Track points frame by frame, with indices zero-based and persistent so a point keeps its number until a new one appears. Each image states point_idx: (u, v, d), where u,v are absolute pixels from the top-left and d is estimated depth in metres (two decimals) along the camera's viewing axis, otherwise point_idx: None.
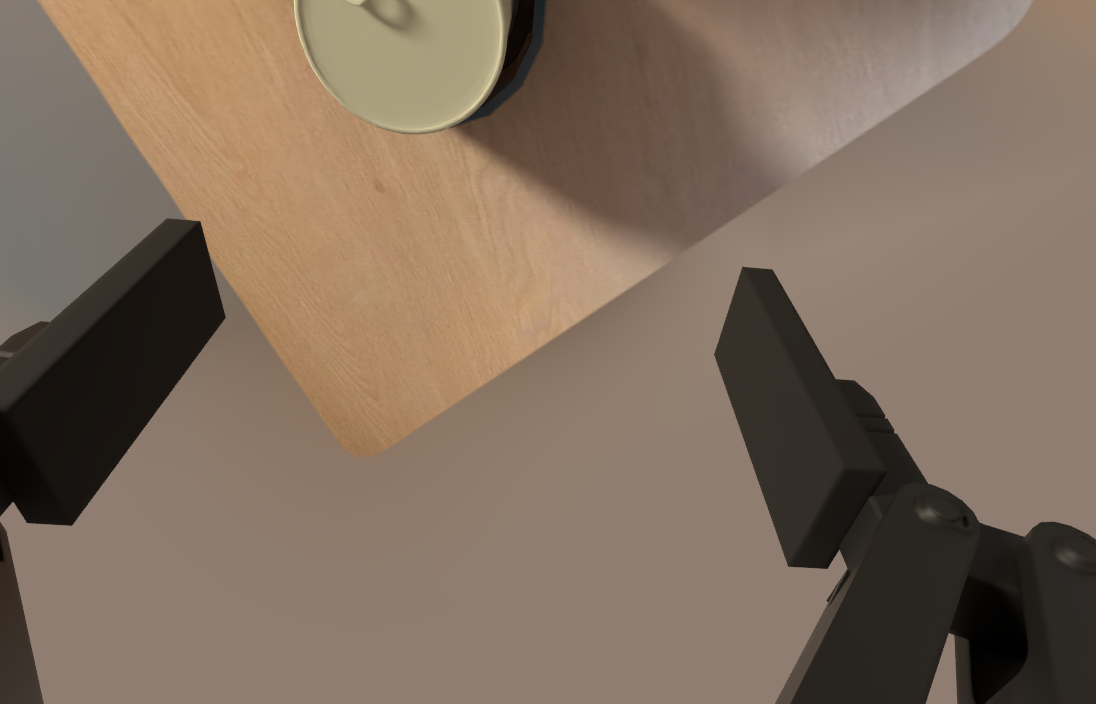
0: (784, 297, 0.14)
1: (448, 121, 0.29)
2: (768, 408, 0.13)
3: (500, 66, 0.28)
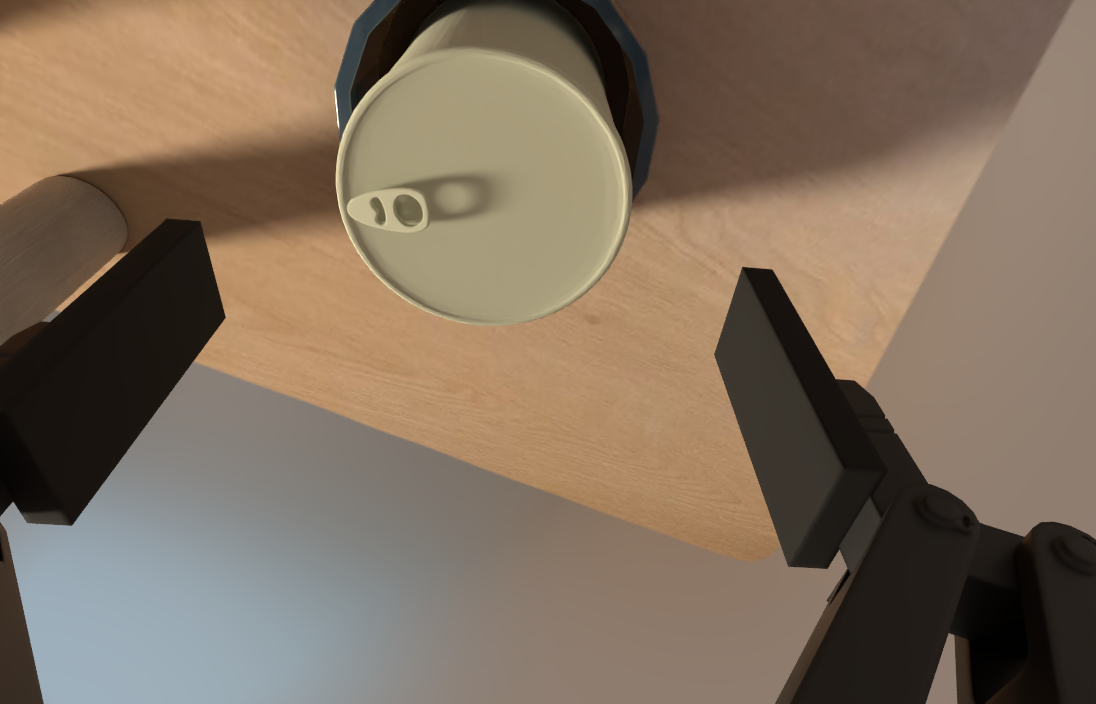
0: (784, 297, 0.14)
1: (609, 252, 0.20)
2: (768, 408, 0.13)
3: (619, 145, 0.18)
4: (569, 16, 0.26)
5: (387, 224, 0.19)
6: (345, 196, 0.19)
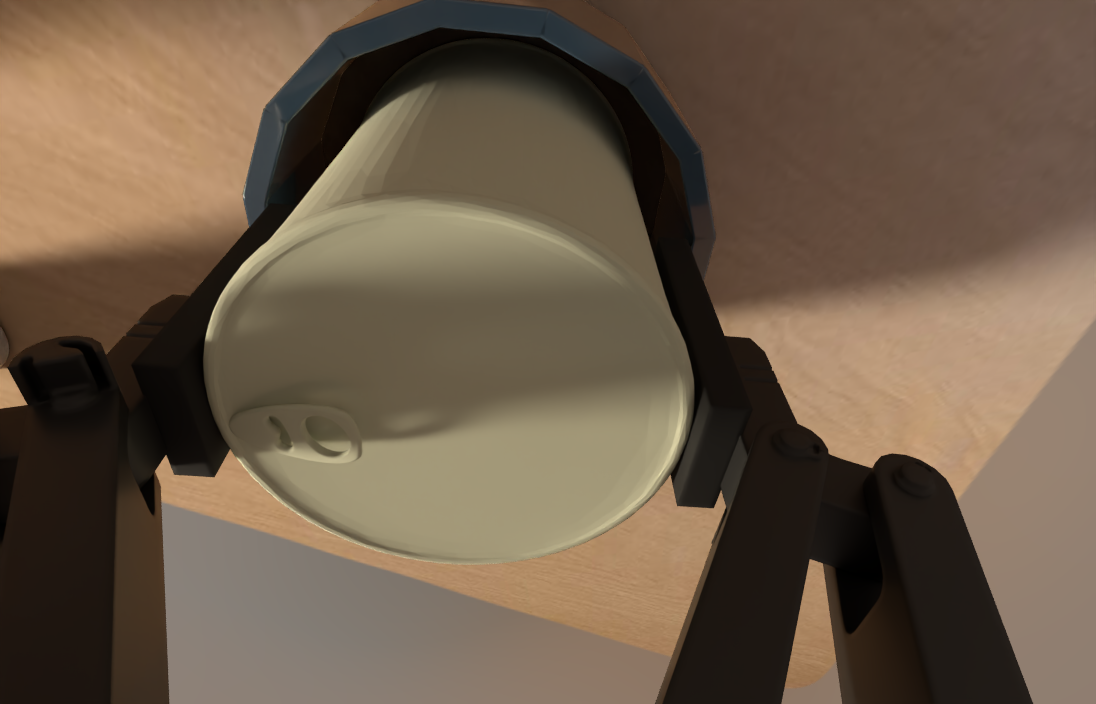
0: (692, 263, 0.15)
1: (652, 481, 0.13)
2: None
3: (678, 344, 0.11)
4: (585, 82, 0.18)
5: (295, 451, 0.12)
6: (224, 411, 0.12)
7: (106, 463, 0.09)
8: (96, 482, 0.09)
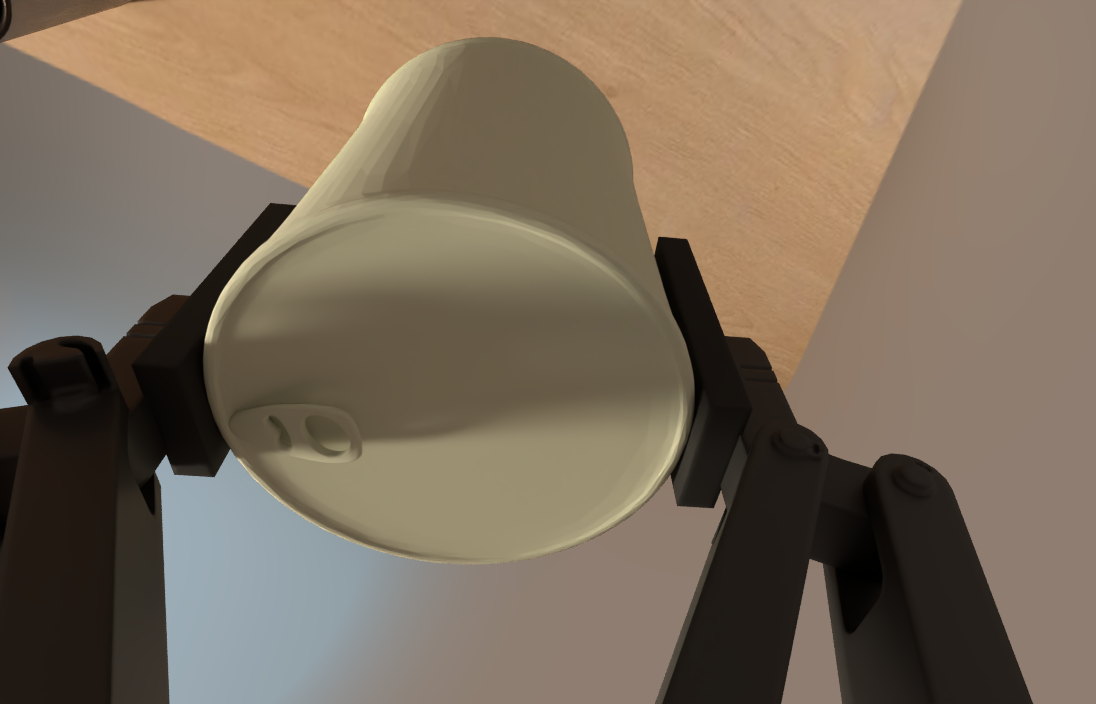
0: (692, 263, 0.15)
1: (652, 481, 0.13)
2: None
3: (679, 343, 0.11)
4: (585, 81, 0.18)
5: (294, 450, 0.12)
6: (223, 410, 0.12)
7: (106, 463, 0.09)
8: (96, 482, 0.09)
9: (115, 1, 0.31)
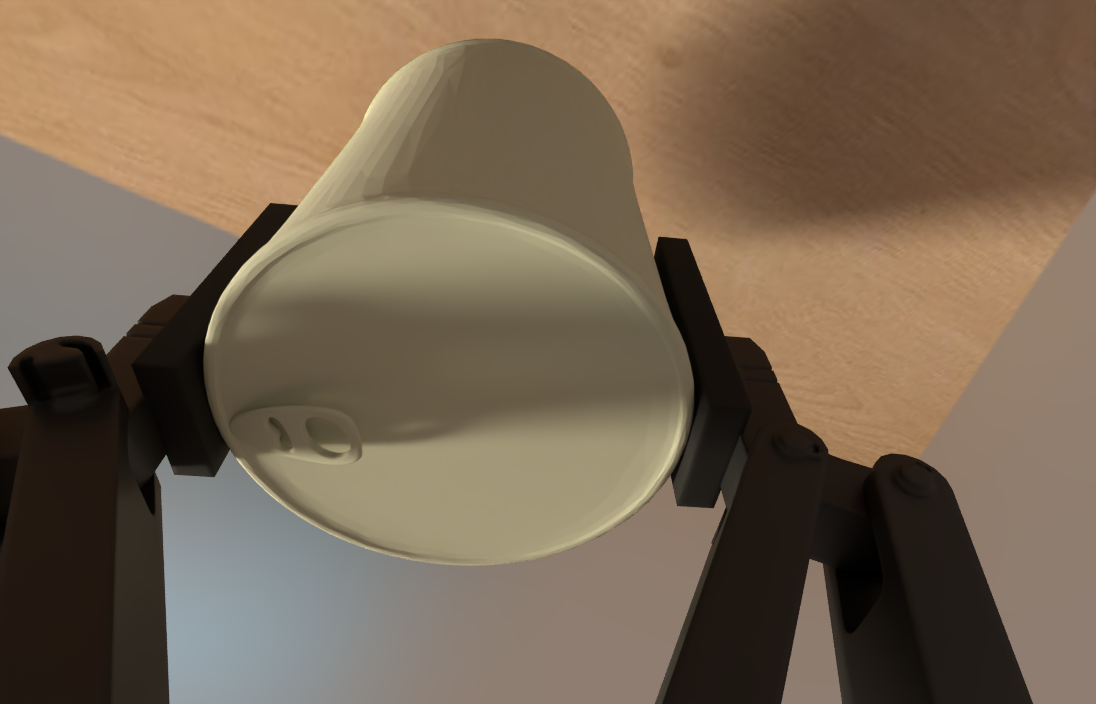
0: (692, 263, 0.15)
1: (652, 482, 0.13)
2: None
3: (678, 345, 0.11)
4: (584, 83, 0.18)
5: (295, 452, 0.12)
6: (224, 412, 0.12)
7: (106, 463, 0.09)
8: (96, 482, 0.09)
9: None
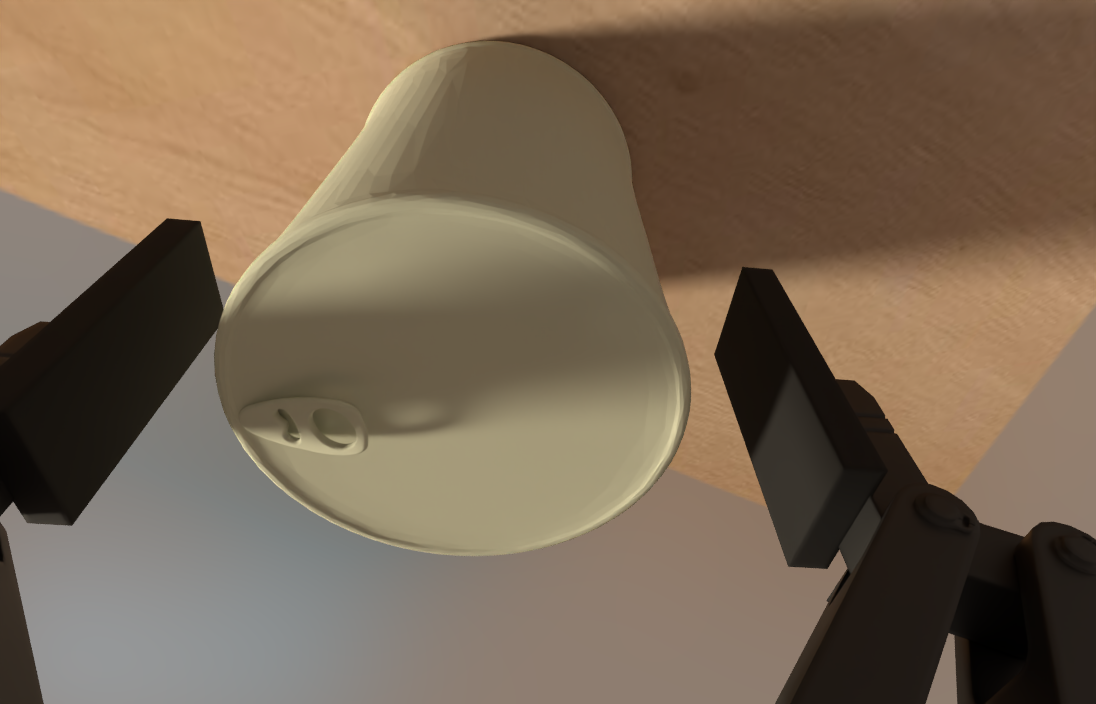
0: (784, 297, 0.14)
1: (649, 473, 0.13)
2: (768, 408, 0.13)
3: (675, 339, 0.11)
4: (584, 84, 0.19)
5: (302, 443, 0.12)
6: (233, 404, 0.12)
7: None
8: None
9: None
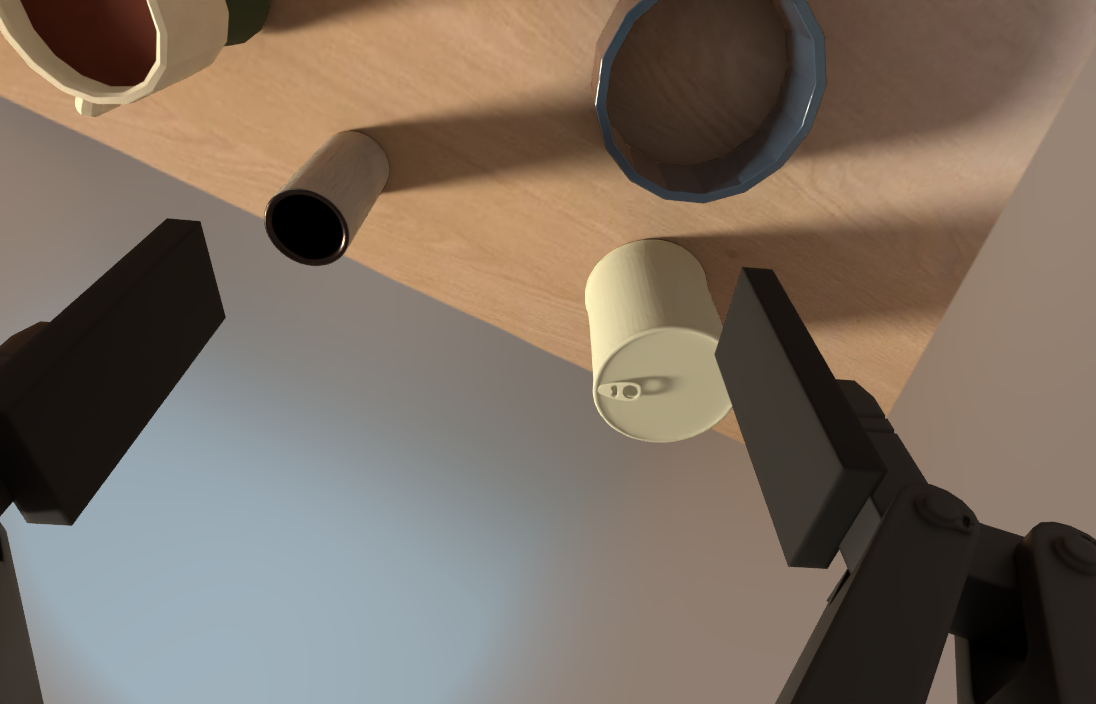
0: (784, 297, 0.14)
1: (727, 409, 0.39)
2: (769, 408, 0.13)
3: None
4: (690, 256, 0.45)
5: (617, 397, 0.38)
6: (598, 383, 0.38)
7: None
8: None
9: None
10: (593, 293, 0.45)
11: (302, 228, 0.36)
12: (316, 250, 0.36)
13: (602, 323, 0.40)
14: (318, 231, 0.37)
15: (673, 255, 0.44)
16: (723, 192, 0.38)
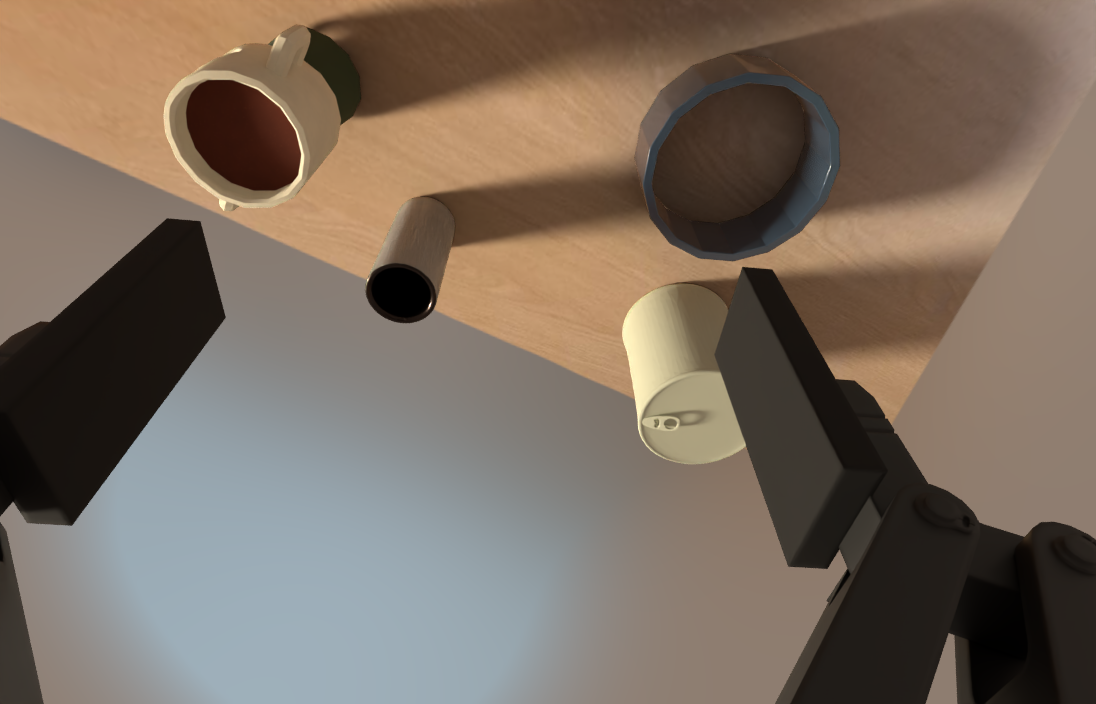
0: (784, 297, 0.14)
1: None
2: (768, 408, 0.13)
3: None
4: (717, 298, 0.51)
5: (659, 427, 0.45)
6: (643, 417, 0.44)
7: None
8: None
9: None
10: (632, 331, 0.51)
11: (390, 288, 0.42)
12: (404, 308, 0.42)
13: (644, 363, 0.46)
14: (402, 289, 0.43)
15: (702, 299, 0.50)
16: (750, 252, 0.44)
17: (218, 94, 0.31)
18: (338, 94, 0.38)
